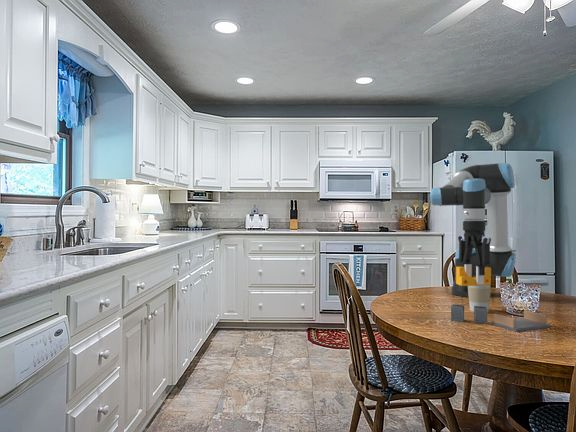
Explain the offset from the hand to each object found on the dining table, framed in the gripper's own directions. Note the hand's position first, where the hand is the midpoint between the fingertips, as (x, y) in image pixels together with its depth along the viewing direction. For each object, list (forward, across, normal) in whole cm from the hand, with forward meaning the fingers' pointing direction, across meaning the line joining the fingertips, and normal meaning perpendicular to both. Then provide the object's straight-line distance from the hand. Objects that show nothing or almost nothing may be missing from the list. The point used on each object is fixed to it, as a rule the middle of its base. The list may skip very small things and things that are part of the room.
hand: (473, 282), depth 144 cm
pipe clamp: (+1, 0, 0) cm, 1 cm away
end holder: (+15, +9, +12) cm, 21 cm away
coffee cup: (+15, -13, +15) cm, 25 cm away
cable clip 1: (+15, -3, -4) cm, 16 cm away
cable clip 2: (+15, +2, +2) cm, 15 cm away
